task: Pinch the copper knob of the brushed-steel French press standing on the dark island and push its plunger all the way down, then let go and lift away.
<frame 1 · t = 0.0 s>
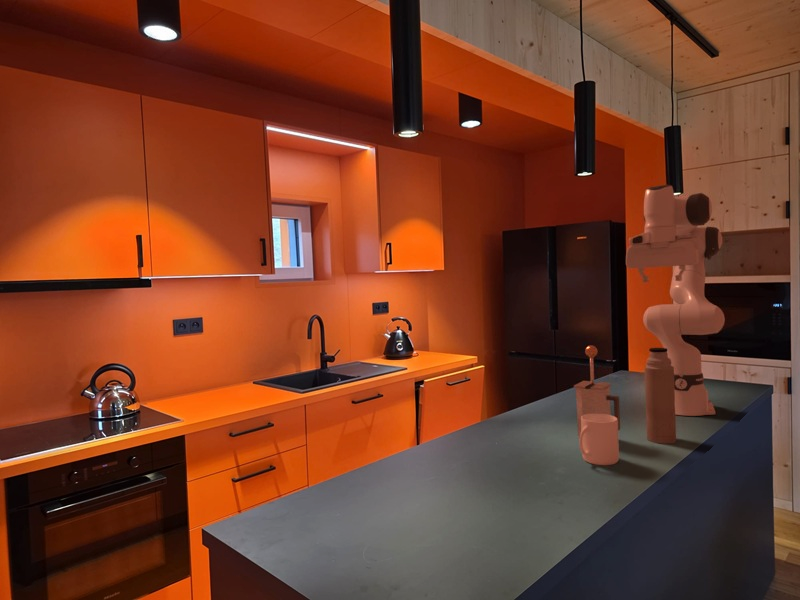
hand: (661, 281, 161), 48 cm above the counter, fingers open, 8 cm apart
mug: (598, 461, 141), on the counter
plunger: (592, 373, 159), point 21 cm above the counter, slide at 0.0 cm
thermos bottle: (661, 440, 156), on the counter
press carafe: (594, 439, 160), on the counter
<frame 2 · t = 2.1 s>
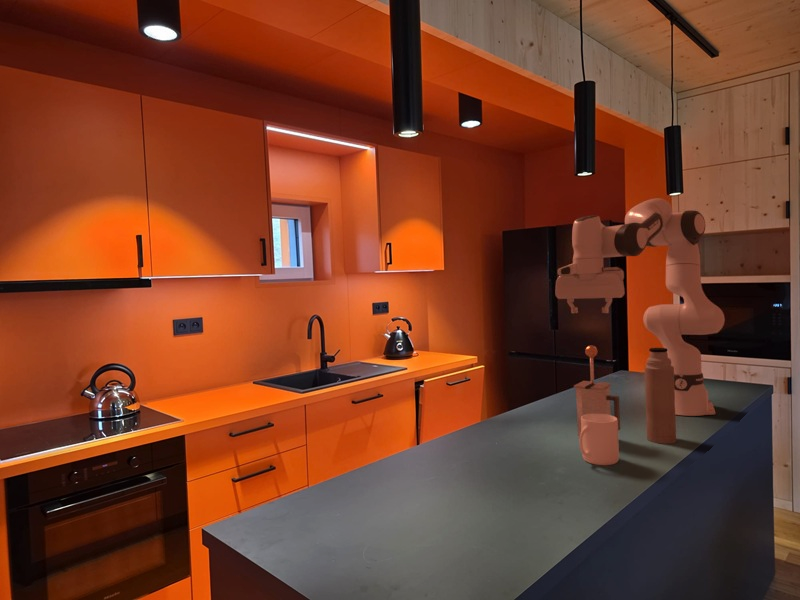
hand: (589, 313, 159), 39 cm above the counter, fingers open, 8 cm apart
nothing on the counter moved.
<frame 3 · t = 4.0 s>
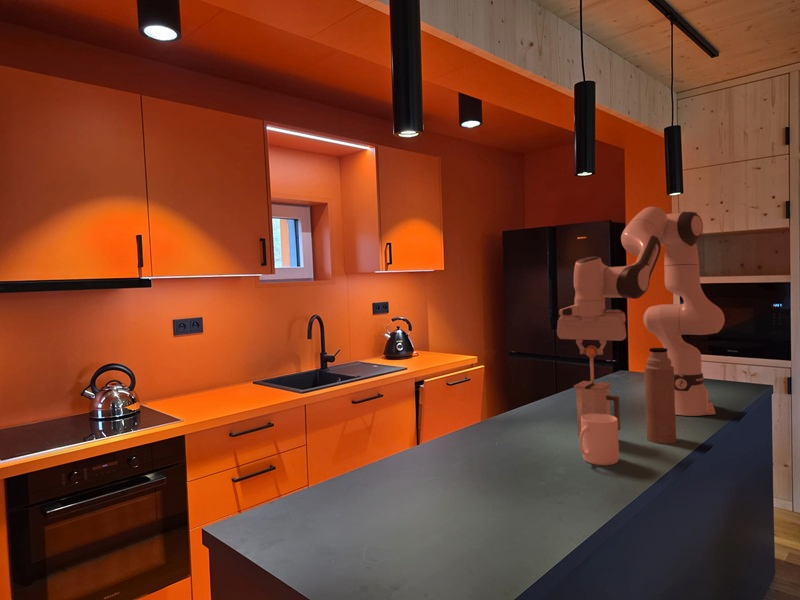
hand: (591, 354, 159), 27 cm above the counter, fingers closed on plunger, 4 cm apart
plunger: (592, 373, 159), point 20 cm above the counter, slide at 0.0 cm, touching gripper
everything else where it was.
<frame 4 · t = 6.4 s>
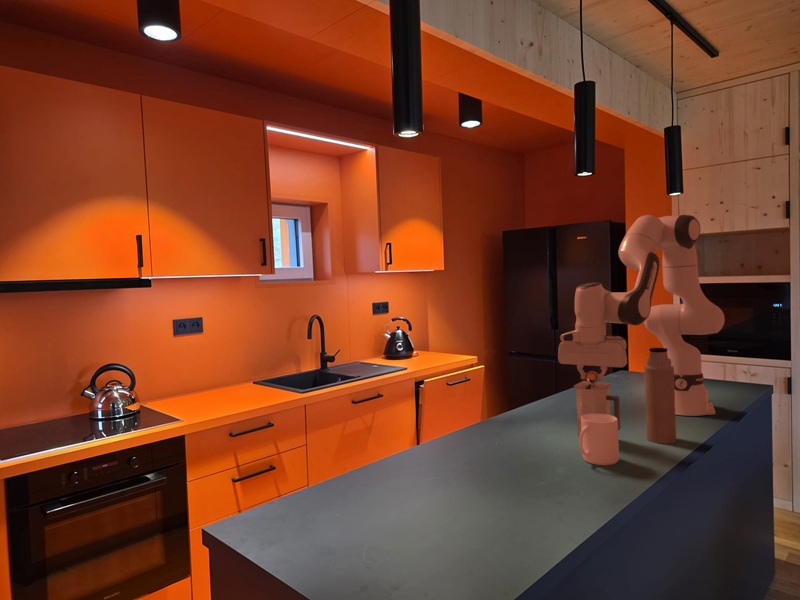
hand: (592, 379, 159), 19 cm above the counter, fingers closed on plunger, 4 cm apart
plunger: (593, 399, 159), point 13 cm above the counter, slide at 8.0 cm, touching gripper
everything else where it was.
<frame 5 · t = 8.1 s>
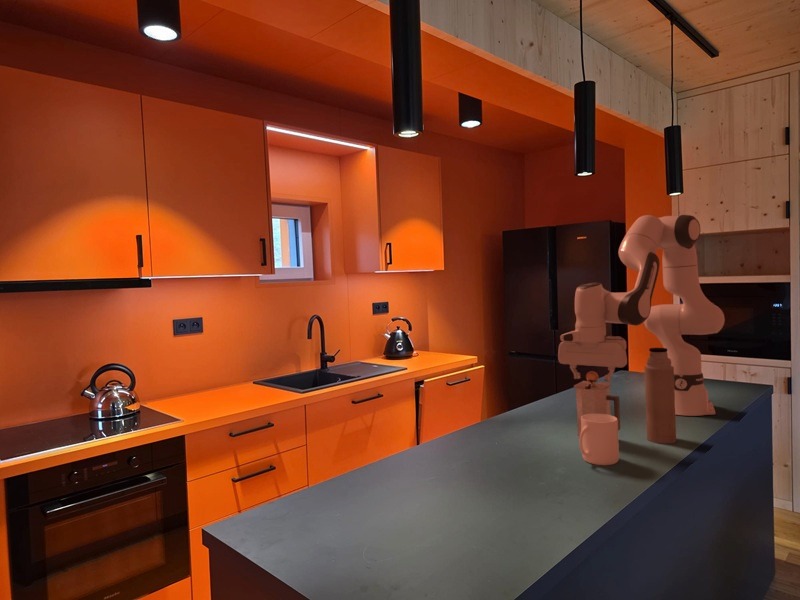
hand: (592, 379, 159), 19 cm above the counter, fingers open, 8 cm apart
plunger: (593, 399, 159), point 12 cm above the counter, slide at 8.0 cm
everything else where it was.
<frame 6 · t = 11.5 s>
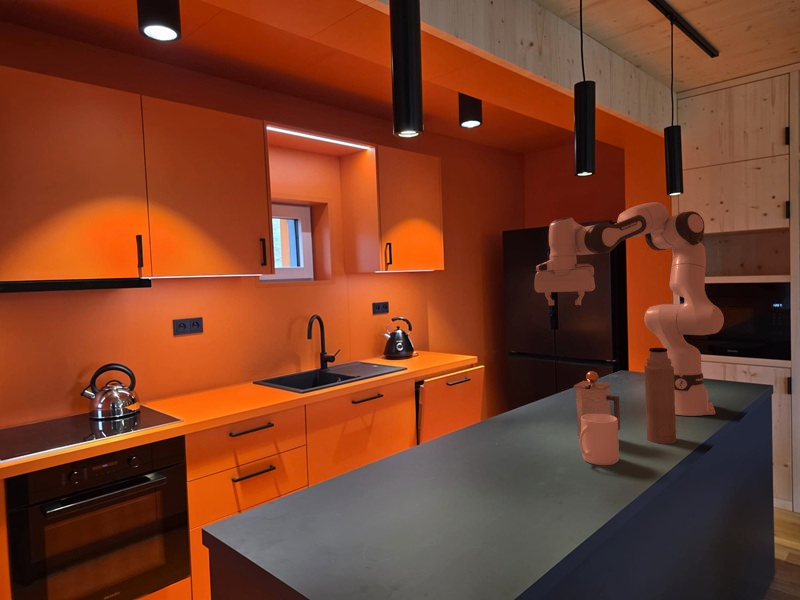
hand: (564, 305, 177), 41 cm above the counter, fingers open, 8 cm apart
nothing on the counter moved.
at the end: plunger slide at 8.0 cm; the gripper is holding nothing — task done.
